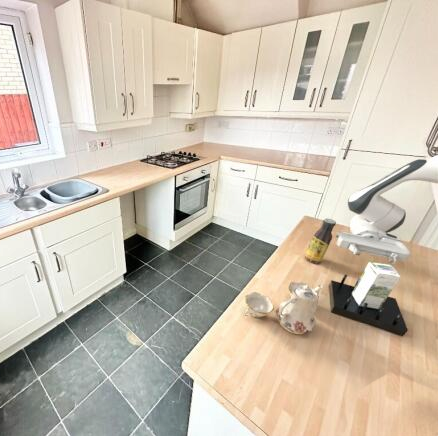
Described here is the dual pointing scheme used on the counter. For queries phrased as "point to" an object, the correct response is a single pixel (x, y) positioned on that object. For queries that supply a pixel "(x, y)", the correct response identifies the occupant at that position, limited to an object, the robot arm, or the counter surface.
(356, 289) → the syrup box
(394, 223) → the robot arm
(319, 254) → the sauce bottle
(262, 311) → the chinaware
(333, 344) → the counter surface
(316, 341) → the counter surface
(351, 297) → the dish rack
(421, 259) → the counter surface
